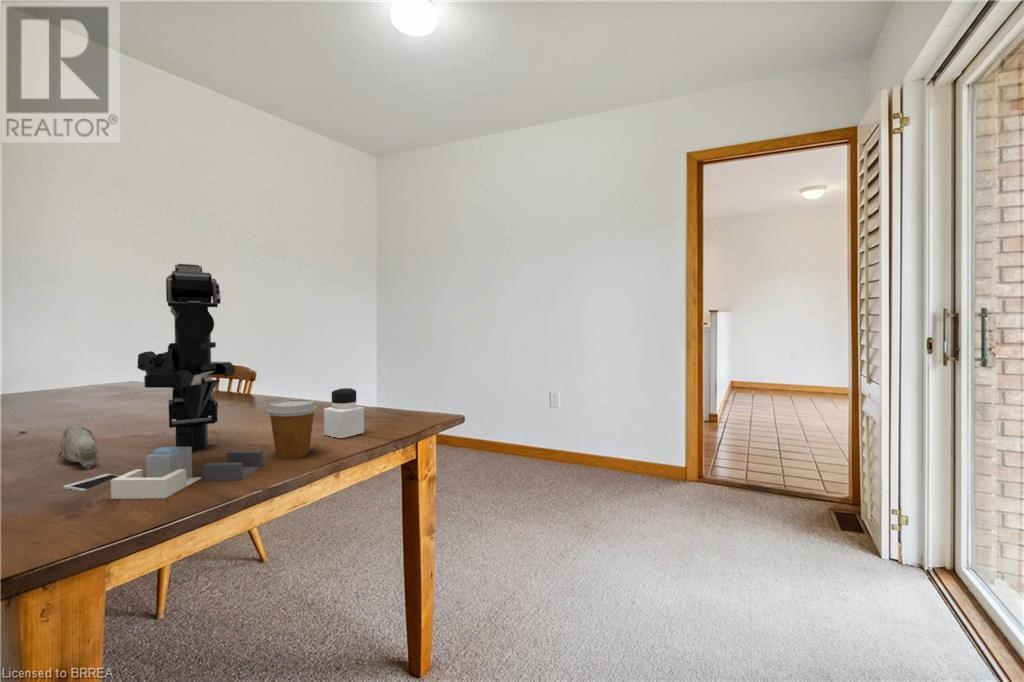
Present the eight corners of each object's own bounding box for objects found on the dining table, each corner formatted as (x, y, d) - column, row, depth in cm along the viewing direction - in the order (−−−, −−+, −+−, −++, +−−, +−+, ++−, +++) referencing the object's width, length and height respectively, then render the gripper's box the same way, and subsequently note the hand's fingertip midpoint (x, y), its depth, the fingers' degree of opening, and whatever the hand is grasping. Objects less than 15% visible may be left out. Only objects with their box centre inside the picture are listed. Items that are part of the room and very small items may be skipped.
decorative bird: (70, 473, 91) (69, 435, 91) (54, 458, 101) (53, 423, 101) (106, 467, 96) (105, 430, 95) (88, 452, 106) (87, 419, 105)
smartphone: (125, 501, 79) (125, 495, 79) (61, 490, 83) (61, 485, 83) (167, 487, 86) (167, 481, 86) (106, 477, 90) (106, 473, 90)
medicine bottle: (364, 434, 124) (364, 388, 123) (341, 439, 118) (341, 391, 117) (346, 430, 128) (346, 386, 127) (323, 435, 122) (323, 389, 121)
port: (154, 482, 87) (154, 461, 87) (202, 481, 87) (201, 461, 87) (111, 503, 77) (110, 480, 77) (165, 502, 77) (164, 479, 77)
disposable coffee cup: (326, 453, 106) (325, 400, 105) (295, 466, 97) (295, 407, 96) (290, 450, 109) (289, 397, 108) (257, 462, 99) (256, 405, 99)
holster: (230, 468, 95) (230, 450, 95) (263, 468, 95) (263, 450, 95) (203, 484, 86) (202, 464, 86) (239, 484, 86) (239, 464, 86)
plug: (169, 476, 88) (169, 443, 87) (192, 476, 88) (191, 443, 88) (146, 487, 82) (145, 452, 81) (170, 487, 82) (169, 452, 82)
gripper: (181, 335, 100) (182, 408, 101) (110, 339, 81) (113, 429, 82) (235, 335, 101) (236, 408, 101) (177, 340, 82) (179, 429, 83)
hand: (194, 418), depth 92 cm, fingers closed
